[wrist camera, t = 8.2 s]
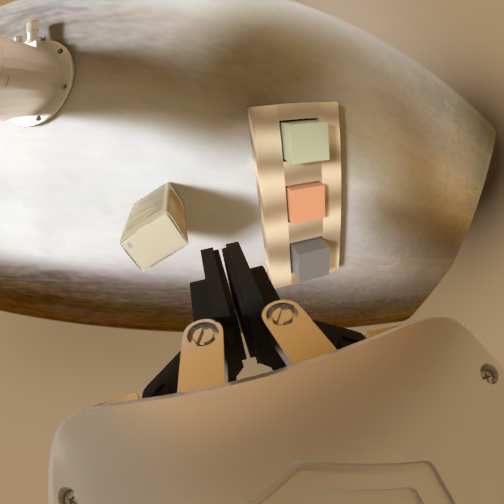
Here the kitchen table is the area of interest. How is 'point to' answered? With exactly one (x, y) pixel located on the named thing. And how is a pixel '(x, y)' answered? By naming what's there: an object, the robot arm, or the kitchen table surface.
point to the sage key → (305, 141)
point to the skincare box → (155, 228)
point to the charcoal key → (310, 258)
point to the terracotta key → (305, 202)
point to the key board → (285, 174)
